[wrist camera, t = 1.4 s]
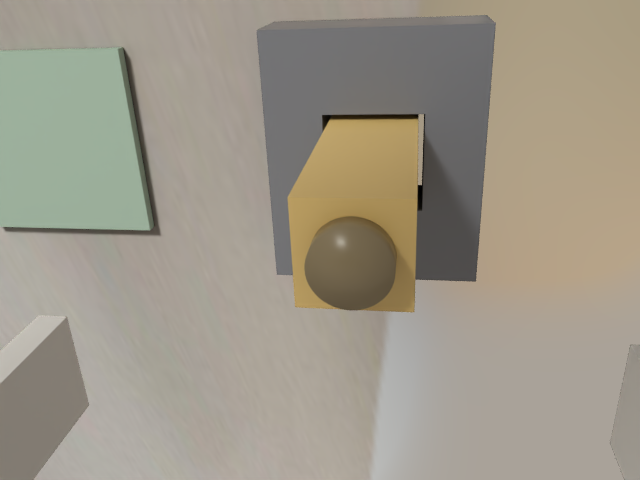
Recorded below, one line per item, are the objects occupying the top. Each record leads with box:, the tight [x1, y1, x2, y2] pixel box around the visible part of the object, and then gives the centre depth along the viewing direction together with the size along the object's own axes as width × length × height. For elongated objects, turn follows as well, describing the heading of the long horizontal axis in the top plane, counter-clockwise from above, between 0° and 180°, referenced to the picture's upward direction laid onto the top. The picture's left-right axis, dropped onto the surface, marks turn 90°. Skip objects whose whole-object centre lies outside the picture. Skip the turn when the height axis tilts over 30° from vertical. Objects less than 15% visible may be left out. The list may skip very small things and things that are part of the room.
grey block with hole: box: [257, 15, 496, 281], centre depth 29 cm, size 12×10×4 cm
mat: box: [0, 47, 154, 230], centre depth 33 cm, size 10×10×1 cm
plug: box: [288, 114, 418, 312], centre depth 25 cm, size 4×4×14 cm
